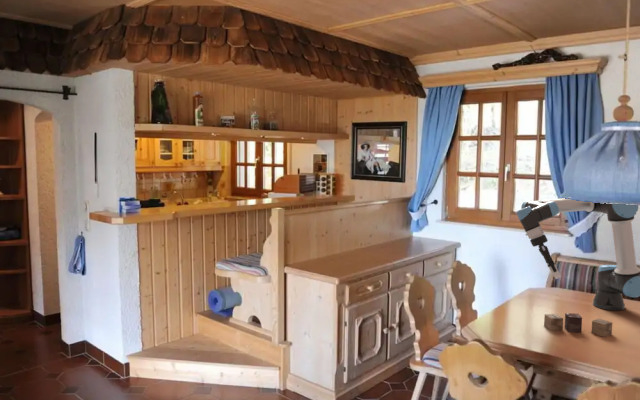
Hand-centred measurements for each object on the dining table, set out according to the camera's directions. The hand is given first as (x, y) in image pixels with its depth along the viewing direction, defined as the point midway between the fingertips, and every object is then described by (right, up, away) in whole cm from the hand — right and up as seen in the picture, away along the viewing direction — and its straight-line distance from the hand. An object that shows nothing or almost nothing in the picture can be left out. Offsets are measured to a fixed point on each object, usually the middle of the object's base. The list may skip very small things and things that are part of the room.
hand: (557, 276), depth 240 cm
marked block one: (+16, -25, -9) cm, 32 cm away
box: (+5, -25, -4) cm, 26 cm away
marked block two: (-3, -25, -2) cm, 25 cm away
